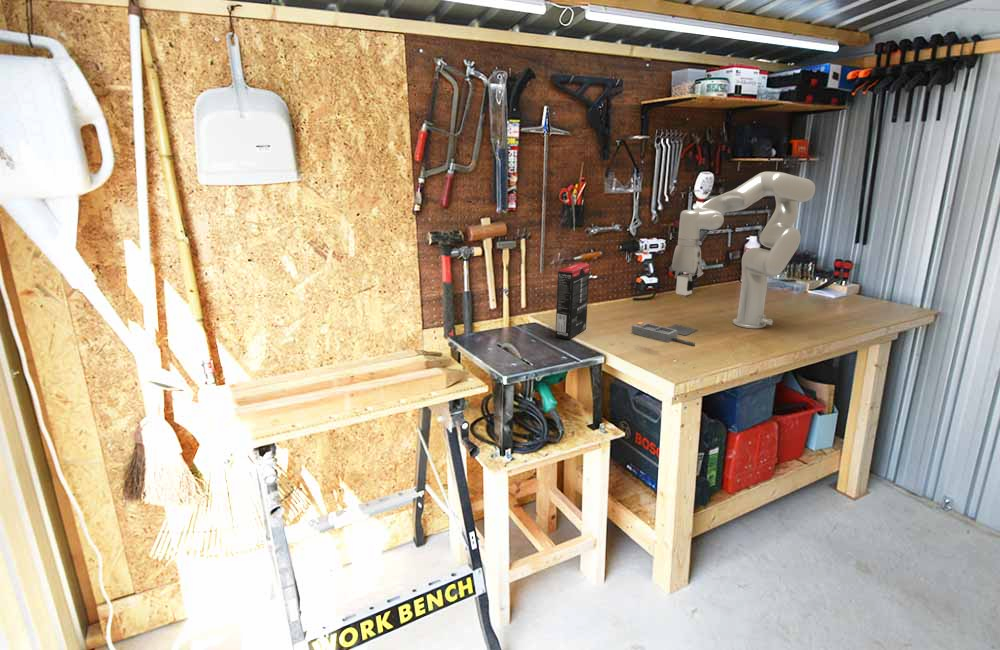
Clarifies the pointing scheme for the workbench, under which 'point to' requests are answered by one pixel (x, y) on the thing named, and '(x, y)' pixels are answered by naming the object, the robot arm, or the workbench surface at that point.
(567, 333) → the graphics card box
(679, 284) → the block
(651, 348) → the workbench surface
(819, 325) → the workbench surface
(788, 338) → the workbench surface
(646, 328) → the power strip
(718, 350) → the workbench surface
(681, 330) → the mat
